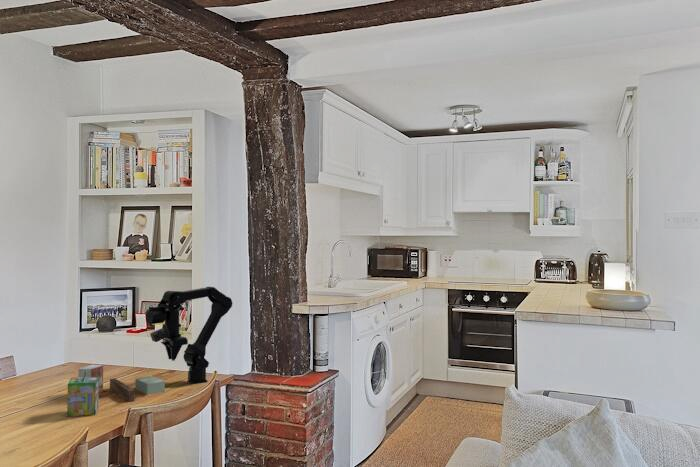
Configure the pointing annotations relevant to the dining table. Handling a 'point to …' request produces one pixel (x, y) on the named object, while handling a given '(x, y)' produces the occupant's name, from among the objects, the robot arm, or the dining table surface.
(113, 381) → the walnut board
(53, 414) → the dining table surface
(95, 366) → the small box
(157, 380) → the sage block
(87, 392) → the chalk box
